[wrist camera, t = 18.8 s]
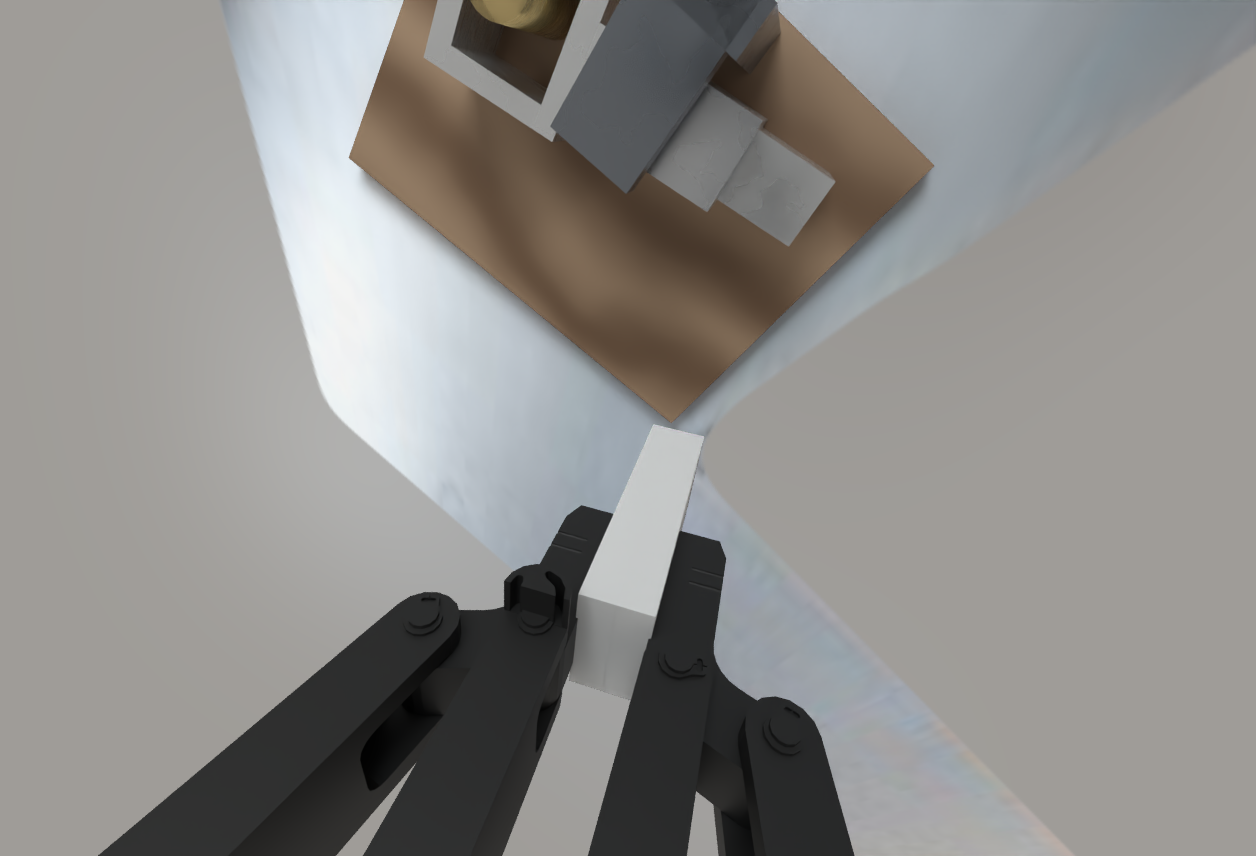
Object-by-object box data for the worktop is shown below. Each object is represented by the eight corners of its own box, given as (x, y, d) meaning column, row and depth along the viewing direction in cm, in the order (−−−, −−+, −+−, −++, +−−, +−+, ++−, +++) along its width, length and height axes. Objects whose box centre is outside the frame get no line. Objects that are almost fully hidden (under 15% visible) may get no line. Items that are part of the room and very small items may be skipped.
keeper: (702, -42, 25) (663, -110, 17) (781, 35, 26) (777, 2, 18) (605, 116, 29) (539, 117, 22) (675, 179, 30) (635, 202, 22)
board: (510, -251, 23) (497, -267, 22) (928, 163, 27) (934, 165, 26) (361, 156, 34) (348, 157, 33) (674, 414, 37) (671, 423, 36)
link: (470, 64, 29) (402, 54, 24) (517, -97, 25) (448, -150, 20) (767, 260, 30) (762, 290, 25) (856, 134, 26) (871, 140, 21)
